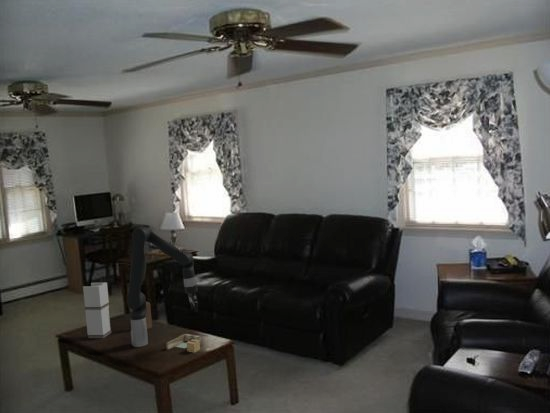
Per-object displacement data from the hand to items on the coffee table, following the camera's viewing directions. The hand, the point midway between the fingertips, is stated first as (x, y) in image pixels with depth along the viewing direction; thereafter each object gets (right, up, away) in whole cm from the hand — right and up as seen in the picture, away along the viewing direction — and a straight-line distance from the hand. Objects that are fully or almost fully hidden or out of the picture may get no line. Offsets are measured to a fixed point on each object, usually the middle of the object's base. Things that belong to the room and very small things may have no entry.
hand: (195, 310), depth 303 cm
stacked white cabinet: (-70, -24, +30) cm, 79 cm away
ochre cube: (0, -22, -8) cm, 24 cm away
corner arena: (-6, -22, 0) cm, 23 cm away
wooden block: (-41, -21, +38) cm, 60 cm away
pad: (-7, -22, +1) cm, 23 cm away
